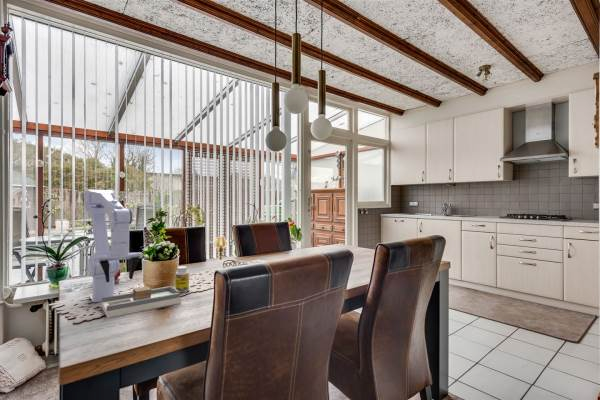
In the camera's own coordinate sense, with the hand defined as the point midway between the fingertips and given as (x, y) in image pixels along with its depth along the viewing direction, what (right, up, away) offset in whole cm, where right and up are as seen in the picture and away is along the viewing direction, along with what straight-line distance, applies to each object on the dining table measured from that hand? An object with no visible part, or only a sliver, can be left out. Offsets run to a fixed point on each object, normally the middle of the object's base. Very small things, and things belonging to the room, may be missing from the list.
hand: (119, 280), depth 109 cm
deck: (+6, -11, +5) cm, 13 cm away
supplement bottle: (+13, -11, +23) cm, 29 cm away
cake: (-25, -10, +34) cm, 43 cm away
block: (+6, -9, +5) cm, 11 cm away
